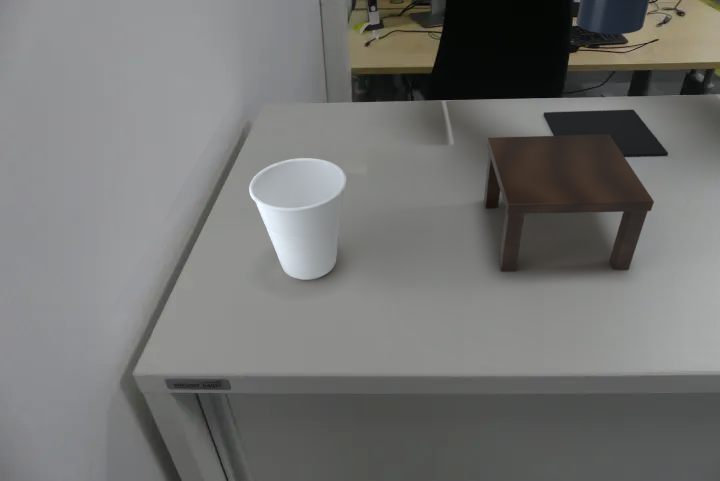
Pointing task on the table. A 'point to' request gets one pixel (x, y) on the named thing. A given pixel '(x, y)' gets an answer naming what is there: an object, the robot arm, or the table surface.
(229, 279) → the table surface
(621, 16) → the blue lidded tin
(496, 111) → the table surface
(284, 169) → the cup
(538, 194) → the small brown wooden table
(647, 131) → the mat
